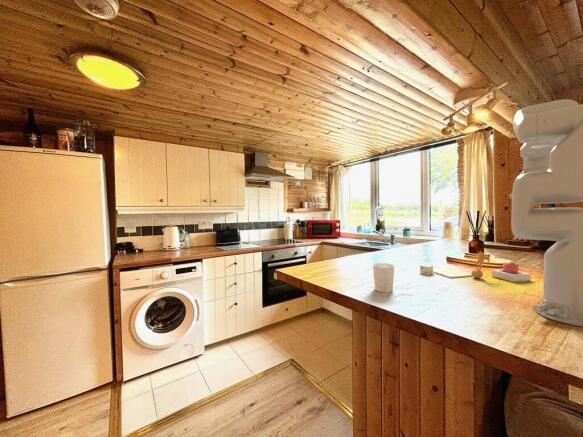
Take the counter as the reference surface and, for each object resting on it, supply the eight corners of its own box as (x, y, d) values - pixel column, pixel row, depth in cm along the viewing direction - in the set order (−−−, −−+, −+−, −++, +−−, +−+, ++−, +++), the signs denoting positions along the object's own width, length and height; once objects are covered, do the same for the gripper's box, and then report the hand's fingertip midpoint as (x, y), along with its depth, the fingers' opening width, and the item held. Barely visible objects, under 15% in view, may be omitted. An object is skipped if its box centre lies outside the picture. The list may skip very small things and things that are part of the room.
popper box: (513, 282, 99) (513, 275, 99) (491, 276, 108) (491, 270, 108) (530, 280, 100) (530, 273, 100) (507, 275, 109) (507, 268, 109)
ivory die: (427, 275, 113) (427, 266, 113) (419, 273, 117) (419, 264, 116) (432, 273, 115) (432, 265, 115) (424, 272, 119) (424, 263, 119)
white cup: (373, 292, 92) (373, 267, 92) (373, 286, 99) (372, 262, 99) (395, 294, 90) (395, 268, 89) (393, 287, 97) (392, 263, 97)
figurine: (465, 276, 110) (465, 250, 109) (476, 275, 110) (476, 249, 110) (481, 281, 101) (481, 253, 101) (493, 280, 102) (493, 253, 102)
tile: (450, 278, 107) (450, 276, 107) (430, 271, 119) (430, 270, 119) (472, 276, 109) (472, 274, 109) (451, 269, 121) (451, 268, 121)
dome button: (512, 274, 101) (512, 263, 101) (499, 271, 106) (499, 260, 106) (521, 273, 102) (521, 262, 102) (509, 271, 107) (509, 260, 107)
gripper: (513, 174, 101) (512, 213, 102) (569, 170, 94) (568, 212, 95) (506, 176, 108) (505, 213, 109) (558, 172, 101) (557, 212, 101)
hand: (535, 213), depth 102 cm, fingers open, 9 cm apart
